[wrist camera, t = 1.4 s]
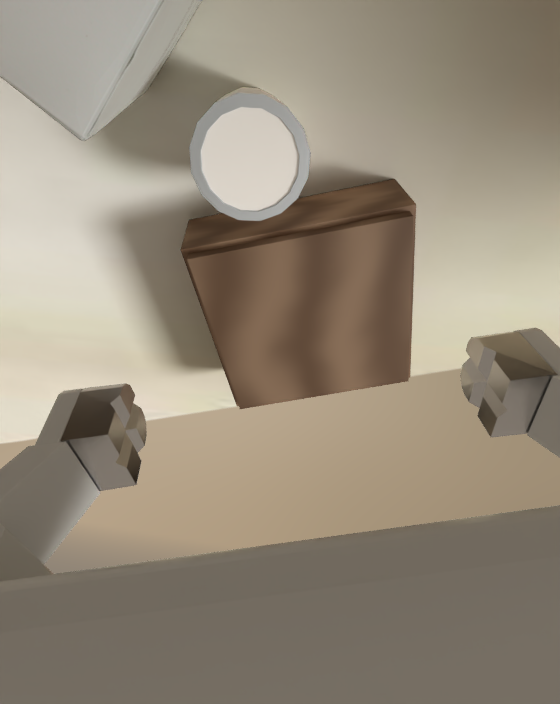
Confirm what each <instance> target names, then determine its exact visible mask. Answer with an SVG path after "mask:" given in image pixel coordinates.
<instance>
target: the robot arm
mask: <svg viewBox="0 0 560 704" xmlns="http://www.w3.org/2000/svg"><path fill="white" fill-rule="evenodd" d="M466 352H467V353H468V355H469V356H470V358H469V359H468V360H467V361H466V362H465V363H464V364H463V365H462V370H461V385H462V389H463V392H464V394H465V396H466V398H467V399H468V401H469V402H470V403H472V404H474V405H475V406H477V407H479V408H480V409H479V412H478V417H479V419H480V421H481V422H482V424H483V426H484V427H485V429H486V430H487V432H488V434H489V435H490V436H491V437H499V436H507V435H517V434H525V433H528V434H527V435H528V436H529V437H531V438H532V439H534V440H535V441H537V442H538V443H539V444H541V445H542V446H544V447H545V448H547V449H548V450H549V451H551V452H552V453H554V454H555V455H557V456H558V457H560V348H559V347H558V346H557V345H556V344H555V343H554V342H553V341H552V340H551V339H550V338H549V337H548V336H547V335H546V334H545V333H544V332H543V331H542V330H540V329H538V328H530V329H524V330H517V331H513V332H506V333H499V334H492V335H485V336H478V337H471V339H470V340H469V342H468V344H467V348H466ZM134 397H135V394H134V392H133V390H132V388H131V386H130V385H128V384H117V385H108V386H99V387H90V388H84V389H75V390H66V391H63V392H61V393H60V394H59V395H58V397H57V399H56V401H55V403H54V405H53V407H52V410H51V412H50V414H49V416H48V418H47V420H46V422H45V425H44V427H43V429H42V431H41V433H40V435H39V437H38V439H37V442H36V444H35V446H28V447H27V448H26V449H24V450H23V451H22V452H21V453H19V454H18V455H17V456H16V457H15V458H13V459H12V460H11V461H10V462H9V463H7V464H6V465H5V466H4V467H2V468H1V469H0V704H560V505H559V506H551V507H545V508H538V509H530V510H522V511H515V512H507V513H500V514H493V515H486V516H478V517H471V518H464V519H456V520H449V521H442V522H434V523H427V524H419V525H412V526H405V527H397V528H390V529H383V530H376V531H369V532H361V533H353V534H346V535H338V536H331V537H324V538H317V539H309V540H302V541H294V542H287V543H279V544H272V545H265V546H258V547H250V548H243V549H236V550H228V551H221V552H213V553H206V554H198V555H191V556H184V557H176V558H169V559H162V560H154V561H147V562H140V563H132V564H125V565H117V566H110V567H102V568H95V569H88V570H80V571H73V572H65V573H58V574H53V573H52V572H51V571H50V570H49V569H48V568H47V567H46V566H45V565H44V564H45V563H46V562H47V560H48V559H49V558H50V557H51V555H52V554H53V553H54V551H55V550H56V549H57V548H58V546H59V545H60V544H61V543H62V541H63V540H64V539H65V537H66V536H67V535H68V533H69V532H70V531H71V530H72V528H73V527H74V526H75V525H76V523H77V522H78V520H79V519H80V518H81V517H82V516H83V514H84V513H85V512H86V511H87V509H88V508H89V507H90V505H91V504H92V503H93V501H94V500H95V499H96V497H98V495H99V494H100V491H103V490H109V489H115V488H121V487H128V486H134V485H136V484H137V479H138V474H139V470H140V465H141V460H140V457H139V455H138V452H139V451H140V450H141V449H142V448H143V447H144V446H145V441H146V421H145V417H144V414H143V412H142V409H141V408H140V407H138V406H137V405H135V404H133V401H134Z"/></svg>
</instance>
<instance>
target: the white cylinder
mask: <svg viewBox="0 0 560 704" xmlns="http://www.w3.org/2000/svg"><path fill="white" fill-rule="evenodd" d="M189 150H190V163H191V173H192V175H193V178H194V180H195V182H196V184H197V186H198V188H199V190H200V193H201V195H202V196H203V197H204V198H205V199H206V200H207V201H208V202H209V203H210V204H211V205H212V206H213V207H215V208H216V209H217V210H218V211H219V212H221V213H224V214H226V215H228V216H230V217H233V218H235V219H237V220H248V221H262V220H265V219H267V218H270V217H273V216H276V215H278V214H281V213H282V212H283V211H284V210H285V209H287V208H288V207H289V206H290V205H291V204H292V203H293V202H294V201H296V200H297V199H298V197H299V195H300V193H301V191H302V189H303V187H304V185H305V183H306V181H307V179H308V174H309V164H310V154H311V153H310V149H309V145H308V142H307V138H306V135H305V131H304V128H303V127H302V125H301V124H300V123H299V121H298V120H297V119H296V117H295V116H294V115H293V114H292V112H291V111H290V110H289V108H288V107H287V106H285V105H284V104H283V103H282V102H281V101H279V100H278V99H277V98H276V97H274V96H272V95H271V94H269V93H267V92H265V91H263V90H262V89H260V88H248V87H241V88H239V89H237V90H234V91H232V92H230V93H227V94H226V95H224V96H223V97H222V98H220V99H219V100H218V101H216V102H215V103H214V104H213V105H212V106H211V107H210V109H209V110H208V111H207V112H206V113H205V114H204V115H203V116H202V118H201V119H200V120H199V121H198V122H197V125H196V128H195V131H194V134H193V137H192V140H191V143H190V147H189Z"/></svg>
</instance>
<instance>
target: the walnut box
mask: <svg viewBox="0 0 560 704" xmlns="http://www.w3.org/2000/svg"><path fill="white" fill-rule="evenodd" d="M415 218H416V204H415V202H414V201H413V200H412V199H411V198H410V196H409V195H408V194H407V193H406V192H405V191H404V189H403V188H402V187H401V186H400V185H399V184H398V182H397V181H396V180H395V179H392V180H387V181H382V182H377V183H372V184H367V185H362V186H357V187H352V188H347V189H342V190H337V191H332V192H327V193H322V194H317V195H312V196H307V197H302V198H298V199H297V200H296V201H294V202H293V203H292V204H291V205H290V206H289V207H288V208H287V209H285V210H284V211H283V212H282V213H281V214H278V215H276V216H273V217H270V218H267V219H265V220H262V221H248V220H237V219H235V218H233V217H230V216H228V215H226V214H224V213H221V214H216V215H211V216H206V217H201V218H196V219H191V220H189V222H188V226H187V229H186V233H185V236H184V240H183V244H182V247H181V252H182V255H183V258H184V260H185V263H186V266H187V269H188V271H189V274H190V277H191V280H192V283H193V285H194V288H195V291H196V294H197V296H198V299H199V302H200V305H201V308H202V310H203V313H204V316H205V319H206V321H207V324H208V327H209V330H210V332H211V335H212V338H213V341H214V344H215V346H216V349H217V352H218V355H219V357H220V360H221V363H222V366H223V369H224V371H225V374H226V377H227V380H228V382H229V385H230V388H231V391H232V394H233V396H234V399H235V402H236V405H237V406H239V407H240V409H244V408H249V407H256V406H261V405H268V404H273V403H279V402H286V401H292V400H297V399H304V398H309V397H316V396H321V395H328V394H334V393H339V392H345V391H351V390H358V389H364V388H369V387H376V386H382V385H388V384H393V383H400V382H405V381H408V378H409V377H410V364H411V335H412V306H413V277H414V248H415Z"/></svg>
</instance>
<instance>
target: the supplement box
mask: <svg viewBox="0 0 560 704" xmlns="http://www.w3.org/2000/svg"><path fill="white" fill-rule="evenodd" d="M201 1H202V0H0V77H1V78H2V79H4V80H5V81H6V82H8V83H9V84H10V85H11V86H13V87H14V88H15V89H16V90H18V91H19V92H20V93H22V94H23V95H24V96H25V97H27V98H28V99H29V100H30V101H32V102H33V103H34V104H35V105H37V106H38V107H39V108H41V109H42V110H43V111H44V112H46V113H47V114H48V115H49V116H51V117H52V118H53V119H55V120H56V121H57V122H58V123H60V124H61V125H62V126H63V127H65V128H66V129H67V130H69V131H70V132H71V133H72V134H74V135H75V136H76V137H77V138H78V139H80V140H82V141H86V140H87V139H89V138H90V137H91V136H93V135H94V134H96V133H97V132H98V131H100V130H101V129H102V128H103V127H104V126H106V125H107V124H108V123H109V122H110V121H111V120H113V119H114V118H115V117H116V116H117V115H118V114H120V113H121V112H122V111H123V110H124V109H125V108H127V107H128V106H129V105H130V104H131V103H132V102H134V101H135V100H136V99H137V98H138V97H140V96H141V95H142V94H144V93H145V92H146V91H147V89H148V88H149V86H150V85H151V83H152V82H153V80H154V79H155V77H156V76H157V74H158V72H159V71H160V69H161V68H162V66H163V64H164V63H165V61H166V60H167V58H168V56H169V55H170V53H171V52H172V50H173V49H174V47H175V45H176V44H177V42H178V40H179V38H180V37H181V35H182V33H183V32H184V30H185V28H186V27H187V25H188V23H189V21H190V20H191V18H192V16H193V15H194V13H195V11H196V9H197V8H198V6H199V4H200V3H201Z"/></svg>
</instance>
